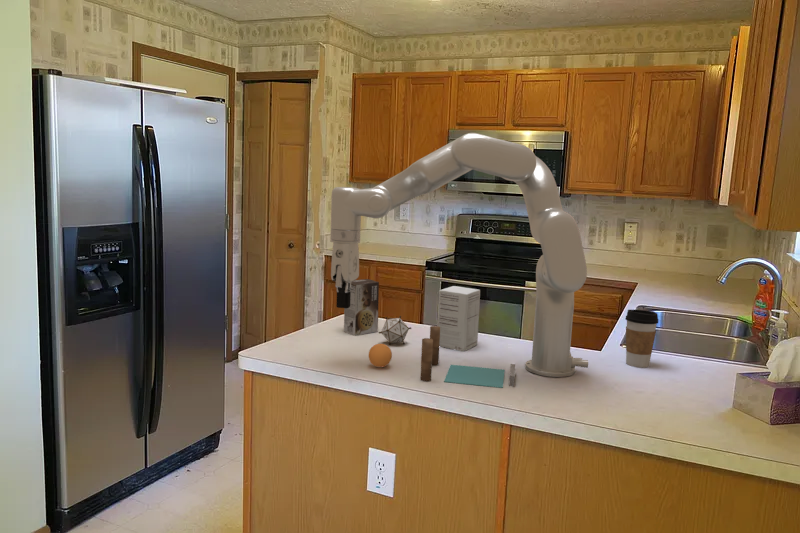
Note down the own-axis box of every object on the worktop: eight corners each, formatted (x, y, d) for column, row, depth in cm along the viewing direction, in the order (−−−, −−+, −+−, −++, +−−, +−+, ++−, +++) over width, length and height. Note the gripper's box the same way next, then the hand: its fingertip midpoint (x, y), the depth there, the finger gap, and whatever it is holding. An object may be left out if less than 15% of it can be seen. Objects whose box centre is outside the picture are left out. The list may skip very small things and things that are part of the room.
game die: (399, 357, 179) (410, 335, 173) (372, 346, 179) (383, 324, 172) (406, 336, 186) (417, 314, 180) (380, 325, 186) (390, 303, 179)
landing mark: (504, 370, 158) (504, 369, 158) (502, 388, 144) (502, 387, 144) (450, 365, 161) (450, 364, 161) (443, 382, 147) (443, 381, 147)
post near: (431, 378, 149) (433, 338, 148) (430, 381, 147) (432, 341, 145) (421, 377, 150) (423, 337, 148) (419, 380, 147) (421, 340, 146)
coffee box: (366, 327, 197) (367, 278, 195) (378, 332, 192) (380, 281, 190) (342, 331, 191) (344, 280, 189) (354, 336, 187) (356, 284, 184)
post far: (439, 363, 162) (440, 326, 161) (437, 366, 160) (439, 328, 158) (429, 362, 163) (431, 325, 161) (427, 365, 160) (429, 327, 159)
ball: (393, 364, 159) (394, 342, 159) (388, 371, 154) (389, 348, 153) (371, 362, 161) (372, 340, 160) (365, 369, 155) (366, 346, 154)
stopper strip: (514, 373, 155) (515, 364, 155) (514, 386, 146) (514, 376, 145) (509, 373, 156) (510, 363, 155) (508, 385, 146) (509, 375, 146)
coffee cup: (614, 361, 169) (619, 308, 167) (636, 358, 173) (641, 306, 171) (638, 370, 162) (644, 315, 160) (660, 367, 166) (666, 313, 164)
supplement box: (450, 339, 187) (453, 285, 184) (478, 344, 182) (481, 289, 179) (435, 346, 178) (438, 289, 176) (464, 351, 174) (467, 293, 171)
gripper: (351, 239, 146) (349, 314, 149) (367, 234, 161) (364, 303, 163) (321, 237, 148) (319, 312, 150) (339, 233, 162) (337, 300, 165)
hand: (343, 307), depth 157 cm, fingers closed
